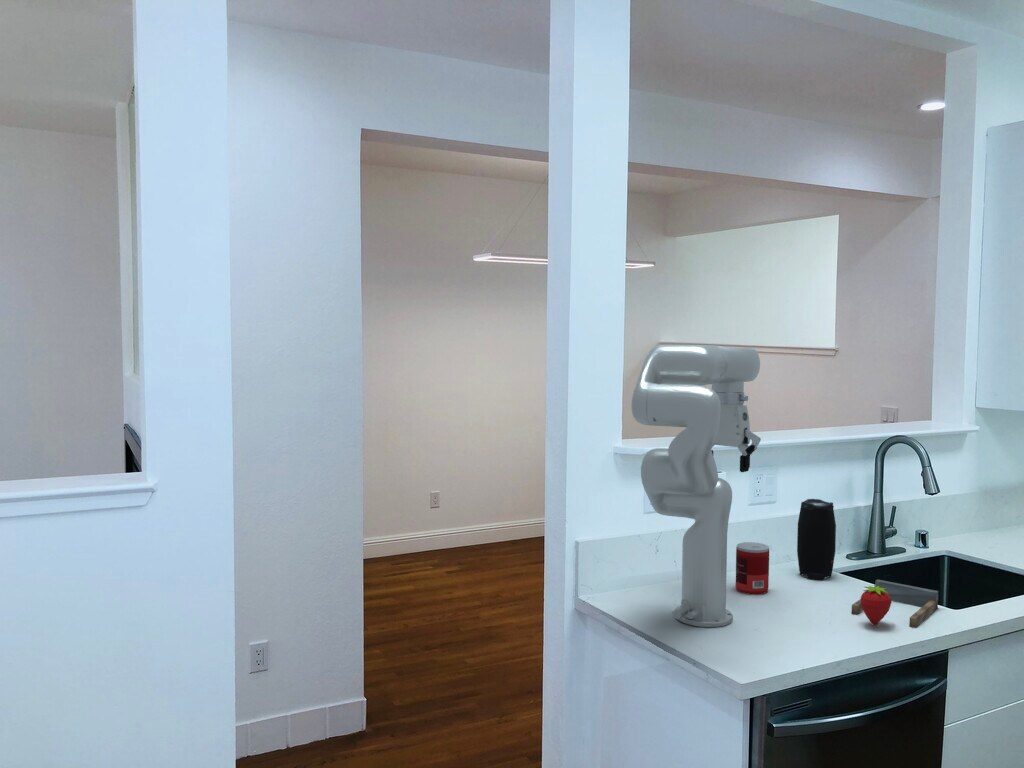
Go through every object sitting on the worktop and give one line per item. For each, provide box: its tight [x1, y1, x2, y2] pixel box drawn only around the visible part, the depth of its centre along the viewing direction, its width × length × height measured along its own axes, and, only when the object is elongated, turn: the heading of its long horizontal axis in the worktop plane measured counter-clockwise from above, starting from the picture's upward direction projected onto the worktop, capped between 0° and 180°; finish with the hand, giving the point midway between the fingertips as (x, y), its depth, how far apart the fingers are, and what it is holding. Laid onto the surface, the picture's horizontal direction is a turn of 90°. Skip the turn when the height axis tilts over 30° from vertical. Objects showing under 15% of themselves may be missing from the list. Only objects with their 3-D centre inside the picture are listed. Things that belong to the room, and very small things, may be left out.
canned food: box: [735, 541, 770, 596], centre depth 202 cm, size 8×8×11 cm
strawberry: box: [859, 582, 893, 626], centre depth 178 cm, size 6×8×10 cm
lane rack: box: [851, 579, 939, 629], centre depth 187 cm, size 17×13×4 cm
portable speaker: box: [796, 498, 837, 581], centre depth 214 cm, size 9×9×20 cm
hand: (726, 469), depth 201 cm, fingers open, 9 cm apart
